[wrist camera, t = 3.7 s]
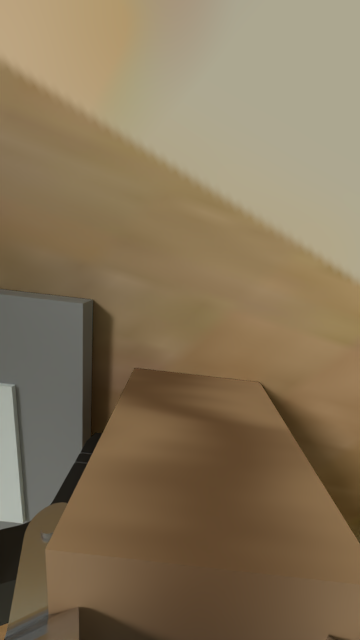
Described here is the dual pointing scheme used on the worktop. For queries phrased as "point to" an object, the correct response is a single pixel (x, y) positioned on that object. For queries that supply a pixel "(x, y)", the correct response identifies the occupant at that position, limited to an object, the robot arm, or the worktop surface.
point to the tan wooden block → (202, 524)
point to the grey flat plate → (41, 397)
